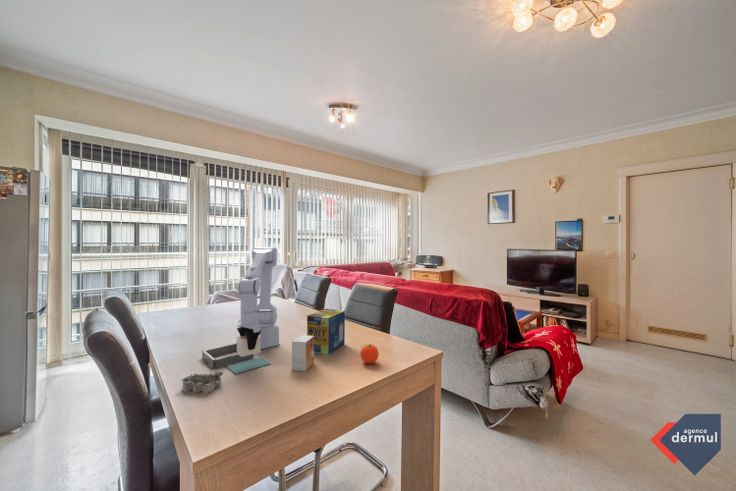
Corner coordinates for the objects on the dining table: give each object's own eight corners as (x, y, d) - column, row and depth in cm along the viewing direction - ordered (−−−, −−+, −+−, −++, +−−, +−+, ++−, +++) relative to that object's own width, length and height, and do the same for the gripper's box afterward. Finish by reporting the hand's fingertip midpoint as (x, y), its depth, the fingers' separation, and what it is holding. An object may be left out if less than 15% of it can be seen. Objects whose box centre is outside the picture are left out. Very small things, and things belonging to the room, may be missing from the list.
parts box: (236, 353, 109) (236, 337, 109) (255, 349, 114) (255, 333, 114) (241, 356, 105) (241, 339, 105) (260, 352, 110) (260, 335, 110)
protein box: (306, 352, 123) (306, 315, 123) (325, 341, 137) (325, 308, 137) (328, 356, 119) (328, 317, 119) (345, 344, 134) (345, 310, 134)
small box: (305, 372, 104) (306, 342, 104) (291, 370, 105) (291, 341, 105) (314, 363, 112) (314, 335, 112) (300, 362, 113) (300, 334, 113)
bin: (239, 349, 127) (239, 342, 127) (253, 357, 117) (253, 350, 117) (202, 358, 117) (202, 350, 117) (213, 368, 107) (213, 360, 107)
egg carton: (225, 384, 96) (225, 371, 96) (207, 395, 88) (207, 382, 88) (197, 380, 98) (197, 368, 98) (177, 391, 91) (178, 378, 91)
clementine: (354, 363, 112) (354, 344, 112) (365, 357, 118) (365, 339, 118) (371, 368, 107) (371, 348, 107) (382, 362, 113) (382, 343, 113)
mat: (260, 357, 117) (260, 356, 117) (270, 364, 111) (270, 363, 111) (226, 367, 108) (226, 365, 108) (235, 374, 102) (235, 373, 102)
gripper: (230, 309, 112) (230, 345, 112) (245, 316, 102) (245, 355, 102) (249, 307, 117) (249, 341, 117) (265, 313, 107) (265, 350, 106)
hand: (248, 347), depth 110 cm, fingers closed on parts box, 4 cm apart
